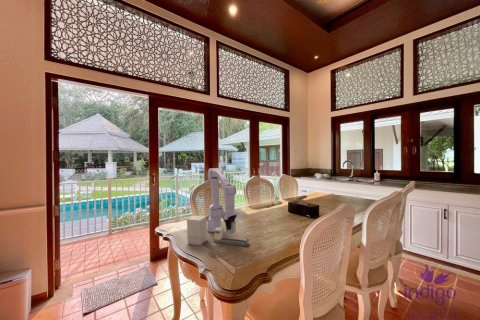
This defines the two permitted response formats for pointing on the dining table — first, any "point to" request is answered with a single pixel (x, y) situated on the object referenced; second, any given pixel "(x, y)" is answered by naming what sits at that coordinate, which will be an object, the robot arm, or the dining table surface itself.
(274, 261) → the dining table surface
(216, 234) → the beige rectangular block
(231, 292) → the dining table surface
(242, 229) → the dining table surface
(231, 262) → the dining table surface
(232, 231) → the block
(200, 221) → the supplement box
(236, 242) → the rail
